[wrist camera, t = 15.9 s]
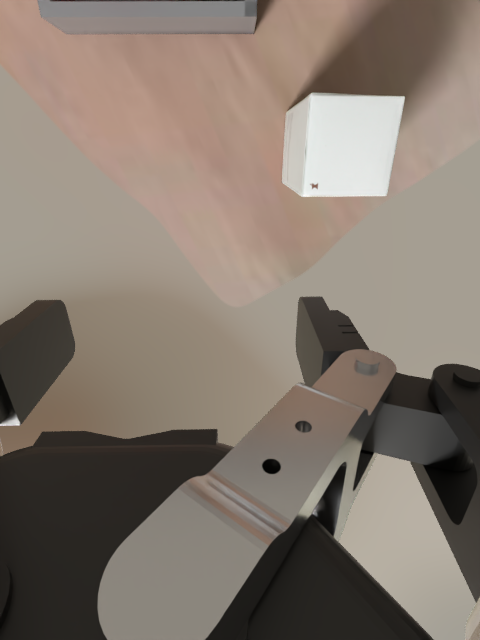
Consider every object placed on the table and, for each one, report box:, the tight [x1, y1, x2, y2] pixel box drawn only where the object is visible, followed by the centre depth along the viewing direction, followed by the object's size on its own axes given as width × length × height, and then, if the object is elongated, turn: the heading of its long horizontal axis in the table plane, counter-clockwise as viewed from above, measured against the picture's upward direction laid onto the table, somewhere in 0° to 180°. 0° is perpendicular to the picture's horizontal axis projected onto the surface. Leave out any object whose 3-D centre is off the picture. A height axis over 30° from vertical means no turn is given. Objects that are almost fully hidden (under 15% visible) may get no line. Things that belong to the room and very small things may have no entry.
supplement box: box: [282, 92, 405, 197], centre depth 33 cm, size 7×7×13 cm
